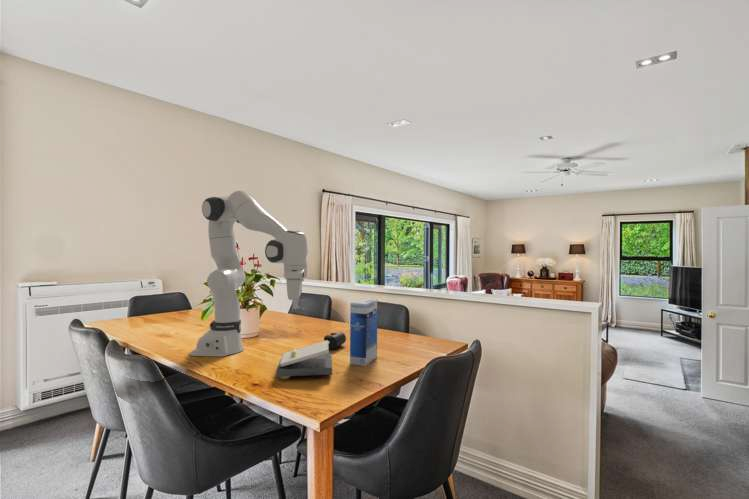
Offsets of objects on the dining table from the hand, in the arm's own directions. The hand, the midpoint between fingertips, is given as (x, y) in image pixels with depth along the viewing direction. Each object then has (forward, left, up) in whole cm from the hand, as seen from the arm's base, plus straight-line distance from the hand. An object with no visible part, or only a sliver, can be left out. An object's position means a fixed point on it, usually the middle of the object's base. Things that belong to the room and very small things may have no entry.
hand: (295, 308), depth 142 cm
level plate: (+4, 0, -18) cm, 18 cm away
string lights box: (+28, +12, -25) cm, 40 cm away
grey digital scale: (+4, 0, -25) cm, 25 cm away
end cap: (+16, +34, -25) cm, 45 cm away
